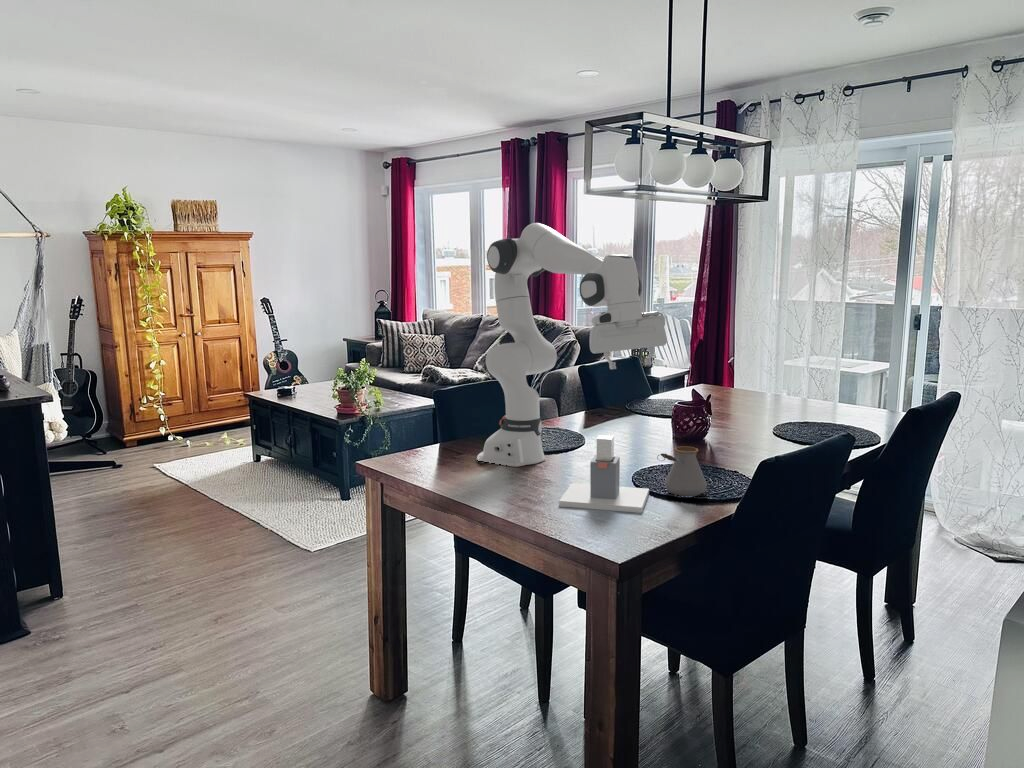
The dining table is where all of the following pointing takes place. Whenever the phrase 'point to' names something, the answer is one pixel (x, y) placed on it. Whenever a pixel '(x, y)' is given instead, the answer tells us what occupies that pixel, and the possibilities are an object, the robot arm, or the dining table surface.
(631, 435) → the dining table surface
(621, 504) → the stand
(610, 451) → the column
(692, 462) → the coffee pot
